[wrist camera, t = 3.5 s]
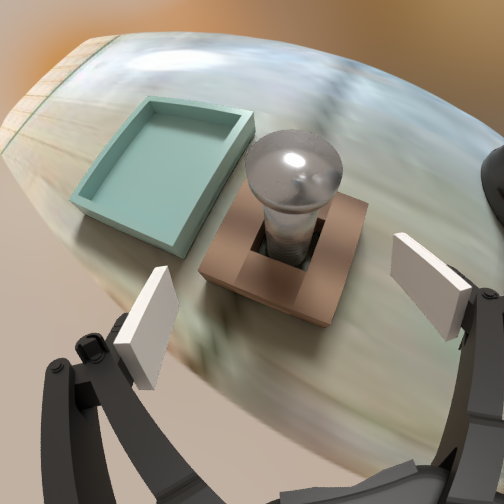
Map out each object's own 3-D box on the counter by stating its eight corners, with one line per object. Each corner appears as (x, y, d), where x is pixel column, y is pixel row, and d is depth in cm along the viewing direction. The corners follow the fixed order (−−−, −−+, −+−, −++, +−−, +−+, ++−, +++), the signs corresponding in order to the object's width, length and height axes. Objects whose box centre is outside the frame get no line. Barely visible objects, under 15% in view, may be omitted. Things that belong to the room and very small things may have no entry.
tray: (155, 112, 37) (148, 95, 34) (255, 131, 34) (253, 111, 30) (83, 213, 32) (68, 200, 28) (184, 259, 28) (172, 246, 25)
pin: (271, 214, 29) (267, 120, 17) (323, 233, 28) (351, 145, 16) (249, 262, 28) (228, 186, 15) (304, 283, 26) (327, 220, 14)
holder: (255, 180, 31) (253, 164, 28) (360, 217, 28) (368, 203, 26) (205, 279, 27) (197, 270, 25) (324, 328, 25) (330, 324, 22)
